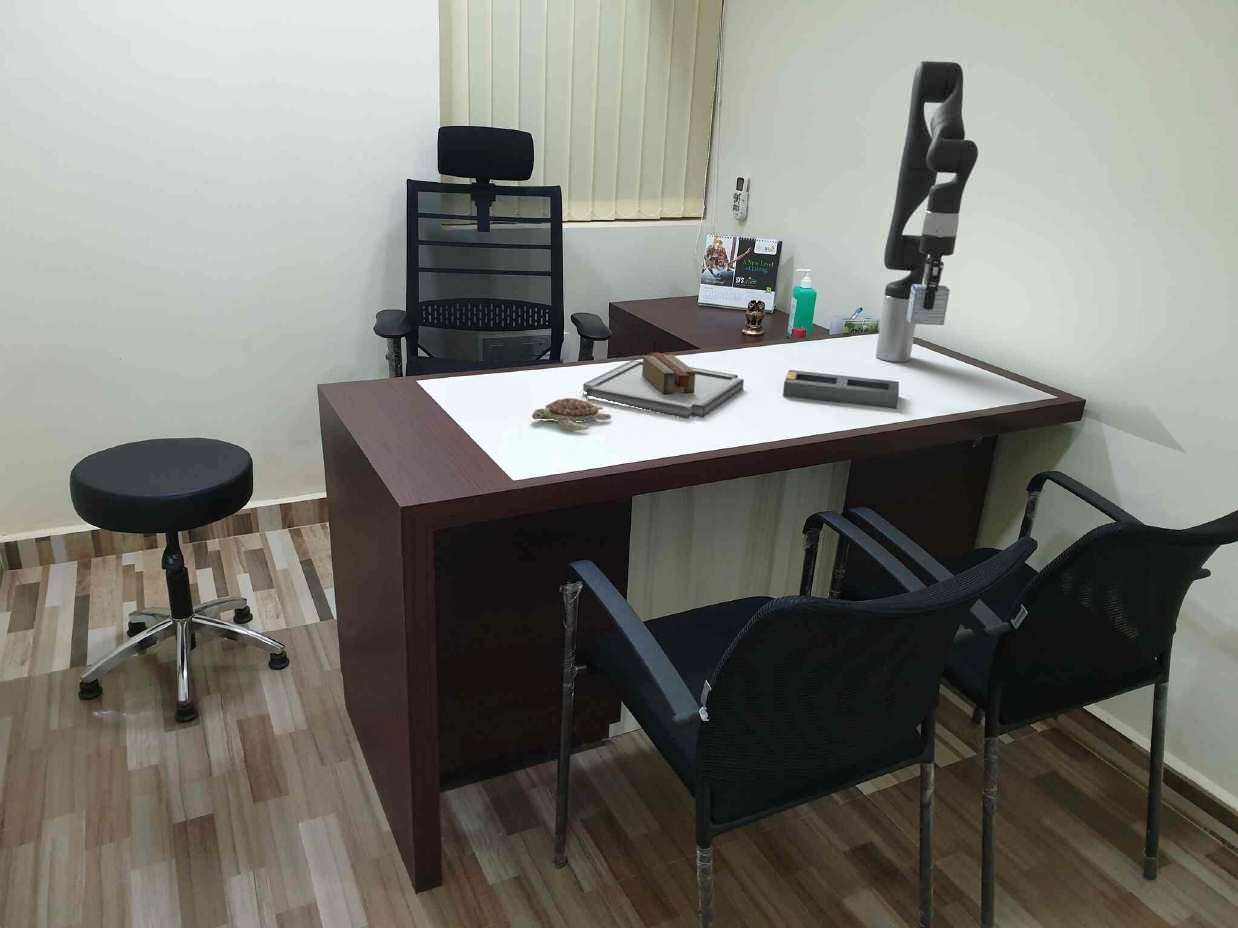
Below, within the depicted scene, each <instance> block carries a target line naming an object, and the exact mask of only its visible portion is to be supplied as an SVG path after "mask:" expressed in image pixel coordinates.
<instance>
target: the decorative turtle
mask: <svg viewBox="0 0 1238 928" xmlns="http://www.w3.org/2000/svg"><path fill="white" fill-rule="evenodd" d="M603 409H604V407H603V406H600V405H593V404H591V403H590V402H587V401H586V400H583V399H579V398H573V397H570V398H568V397H565V398H562V399H561V398H560V399H556V400H554V401H553V402H550V403H548V404H546V405H545V408H538V409H535V410H534V411H533V413H532V416H531V417H532V419H533V420H534V419H554V420H557V422H556V423H557V424H558V425H559V426H561V427H562V428H564V429H566V428H567V430H569V431H586V430H589V429H590V426H589V425H588V424H582V423H578V422H577V423H574V422H576V421H583V422H585V421H584V420H587V421H589V420H590V419H595V420H599V421H607V420H610V419H611V418H612V415H611V414H609V413H603V412H599V410H603ZM588 419H589V420H588Z"/></svg>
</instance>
